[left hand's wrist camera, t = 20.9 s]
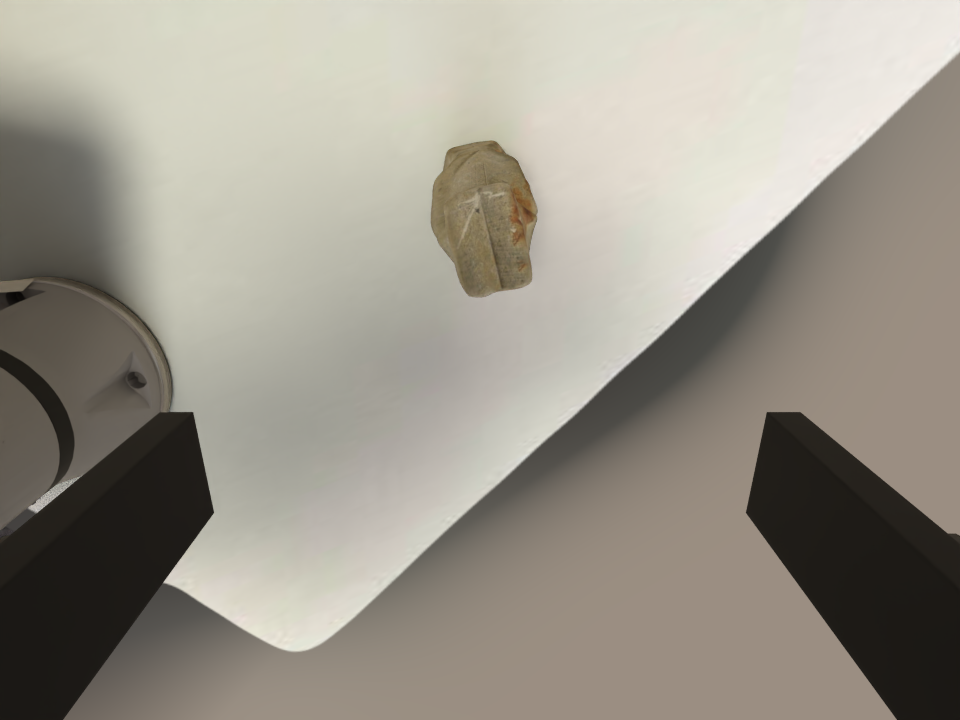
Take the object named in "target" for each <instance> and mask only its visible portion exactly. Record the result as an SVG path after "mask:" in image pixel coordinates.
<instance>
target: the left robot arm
mask: <svg viewBox="0 0 960 720" xmlns="http://www.w3.org/2000/svg"><path fill="white" fill-rule="evenodd" d="M171 394H172V389H171V378H170V373H169V369H168V365H167V362H166V359H165V357H164V355H163V353H162V350H161V348H160V347H159V345H158V343H157V341H156V340H155V338H154V337H153V335H152V334H151V332H150V331H149V330H148V329H147V327H146V326H145V325H144V324H143V323H142V322H141V321H140V320H139V318H138V317H137V316H136V315H134V314H133V313H132V312H131V311H130V310H129V309H128V308H126V307H125V306H124V305H123V304H121V303H120V302H119V301H117V300H115V299H114V298H112V297H111V296H109V295H107V294H105V293H104V292H102V291H100V290H98V289H95V288H93V287H91V286H88V285H86V284H83V283H80V282H76V281H72V280H69V279H63V278H55V277H34V278H27V279H22V280H11V281H0V530H1V529H3V528H4V527H5V526H6V525H7V524H9V523H10V522H11V521H12V520H13V519H15V518H16V517H17V516H18V515H20V514H21V513H22V512H23V511H24V510H26V509H27V508H28V507H29V506H30V505H33V504H35V503H36V500H38V499H39V498H40V497H41V496H42V495H44V494H45V493H46V492H47V491H49V490H50V489H51V488H53V487H54V486H55V485H57V484H58V483H61V482H64V481H67V480H70V479H73V478H76V477H79V476H81V475H83V476H82V477H80V478H79V479H78V480H77V481H76V482H74V483H73V484H72V485H71V486H70V487H68V488H67V489H66V490H65V491H63V492H62V493H61V494H60V495H59V496H57V497H56V498H55V499H54V500H53V501H51V502H50V503H49V504H48V505H46V506H45V507H44V508H43V509H42V510H40V511H39V512H38V513H37V514H36V515H34V516H33V517H32V518H31V519H29V520H28V521H27V522H26V523H25V524H23V525H22V526H21V527H20V528H19V529H17V530H16V531H15V532H14V533H12V534H11V535H10V536H3V537H1V538H0V720H63V719H64V718H65V716H66V715H67V713H68V712H69V711H70V709H71V708H72V707H73V705H74V704H75V702H76V701H77V700H78V698H79V697H80V696H81V694H82V693H83V692H84V690H85V689H86V687H87V686H88V685H89V683H90V682H91V681H92V679H93V678H94V676H95V675H96V674H97V672H98V671H99V670H100V668H101V667H102V665H103V664H104V663H105V661H106V660H107V659H108V657H109V656H110V655H111V653H112V652H113V650H114V649H115V648H116V646H117V645H118V644H119V642H120V641H121V639H122V638H123V637H124V635H125V634H126V633H127V631H128V630H129V629H130V627H131V626H132V624H133V623H134V622H135V620H136V619H137V618H138V616H139V615H140V613H141V612H142V611H143V609H144V608H145V607H146V605H147V604H148V602H149V601H150V600H151V598H152V597H153V596H154V594H155V593H156V592H157V590H158V589H159V587H160V586H161V585H162V583H163V582H164V581H165V579H166V578H167V576H168V575H169V574H170V572H171V571H172V570H173V568H174V567H175V565H176V564H177V563H178V561H179V560H180V559H181V557H182V556H183V555H184V553H185V552H186V550H187V549H188V548H189V546H190V545H191V544H192V542H193V541H194V539H195V538H196V537H197V535H198V534H199V533H200V531H201V530H202V528H203V527H204V526H205V524H206V523H207V522H208V520H209V519H210V518H211V516H212V515H213V513H214V510H213V506H212V501H211V496H210V491H209V486H208V482H207V477H206V472H205V467H204V462H203V458H202V453H201V448H200V443H199V438H198V433H197V429H196V424H195V419H194V414H193V412H168V411H169V408H170V403H171ZM746 513H747V515H748V516H749V517H750V519H751V520H752V522H753V523H754V524H755V526H756V527H757V528H758V530H759V531H760V533H761V534H762V535H763V537H764V538H765V539H766V541H767V542H768V544H769V545H770V546H771V548H772V549H773V550H774V552H775V553H776V554H777V556H778V557H779V559H780V560H781V561H782V563H783V564H784V565H785V567H786V568H787V570H788V571H789V572H790V574H791V575H792V576H793V578H794V579H795V581H796V582H797V583H798V585H799V586H800V587H801V589H802V590H803V592H804V593H805V594H806V596H807V597H808V598H809V600H810V601H811V602H812V604H813V605H814V606H815V608H816V609H817V611H818V612H819V613H820V615H821V616H822V618H823V619H824V620H825V622H826V623H827V624H828V626H829V627H830V629H831V630H832V631H833V632H834V634H835V635H836V637H837V638H838V639H839V641H840V642H841V644H842V645H843V646H844V648H845V649H846V650H847V652H848V653H849V654H850V656H851V657H852V659H853V660H854V661H855V663H856V664H857V665H858V667H859V668H860V669H861V671H862V672H863V674H864V675H865V676H866V678H867V679H868V681H869V682H870V683H871V685H872V686H873V687H874V689H875V690H876V692H877V693H878V694H879V696H880V697H881V698H882V700H883V701H884V702H885V704H886V705H887V707H888V708H889V709H890V711H891V712H892V713H893V715H894V716H895V718H896V719H897V720H960V536H959V535H957V534H948V533H946V532H945V531H944V530H943V529H941V528H940V527H939V526H938V525H937V524H935V523H934V522H933V521H932V520H931V519H929V518H928V517H927V516H926V515H924V514H923V513H922V512H921V511H920V510H918V509H917V508H916V507H915V506H914V505H912V504H911V503H910V502H909V501H907V500H906V499H905V498H904V497H903V496H901V495H900V494H899V493H898V492H897V491H895V490H894V489H893V488H892V487H890V486H889V485H888V484H887V483H886V482H884V481H883V480H882V479H881V478H880V477H878V476H877V475H876V474H875V473H873V472H872V471H871V470H870V469H869V468H867V467H866V466H865V465H864V464H863V463H861V462H860V461H859V460H858V459H857V458H855V457H854V456H853V455H852V454H850V453H849V452H848V451H847V450H846V449H844V448H843V447H842V446H841V445H839V444H838V443H837V442H836V441H835V440H833V439H832V438H831V437H830V436H829V435H827V434H826V433H825V432H824V431H823V430H821V429H820V428H819V427H818V426H816V425H815V424H814V423H813V422H812V421H810V420H809V419H808V418H807V417H806V416H804V415H803V414H802V413H801V412H767V414H766V419H765V424H764V429H763V433H762V438H761V443H760V448H759V453H758V458H757V462H756V467H755V472H754V477H753V482H752V486H751V491H750V496H749V501H748V506H747V510H746Z"/></svg>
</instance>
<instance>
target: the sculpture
mask: <svg viewBox="0 0 960 720" xmlns="http://www.w3.org/2000/svg"><path fill="white" fill-rule="evenodd" d="M537 212H538V210H537V206H536V203H535V201H534V198H533V196H532V193H531V190H530V186H529V184H528V182H527V180H526V179H525V177H524V174H523V172H522V170H521V168H520V166H519V163H518V161H517V160H516V159H515V158H513V157H511V156H509V155H507V154H505V152H504V151H503V149H502V148H501V146H500V145H499V144H498V143H497V142H495V141H484V142H476V143H471V144H467V145H462V146H458V147H454V148H451V149H449V150H448V152H447V154H446V157H445V163H444V168H443V172H442V173H441V174H440V175H439V176H438V177H437V179H436V180H435V182H434V186H433V199H432V210H431V226H432V229H433V232H434V234H435V236H436V237H437V240H438V242H439V245H440V246H441V247H442V249H443V250H444V251H445V252H446V253H447V255H448V256H449V257H450V258H451V260H452V261H453V262H454V263H455V267H456V271H457V274H458V278H459V281H460V283H461V285H462V287H463V289H464V290H465V292H466V293H467V294H468V296H471V297H486V296H488V295H490V294H492V293H495V292H499V291H505V290H513V289H518V288H522V287H525V286H526V285H528V284H530V282H531V280H532V268H531V262H530V256H529V250H530V243H531V238H532V234H533V230H534V227H535V224H536V222H537V216H536V215H537Z"/></svg>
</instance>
